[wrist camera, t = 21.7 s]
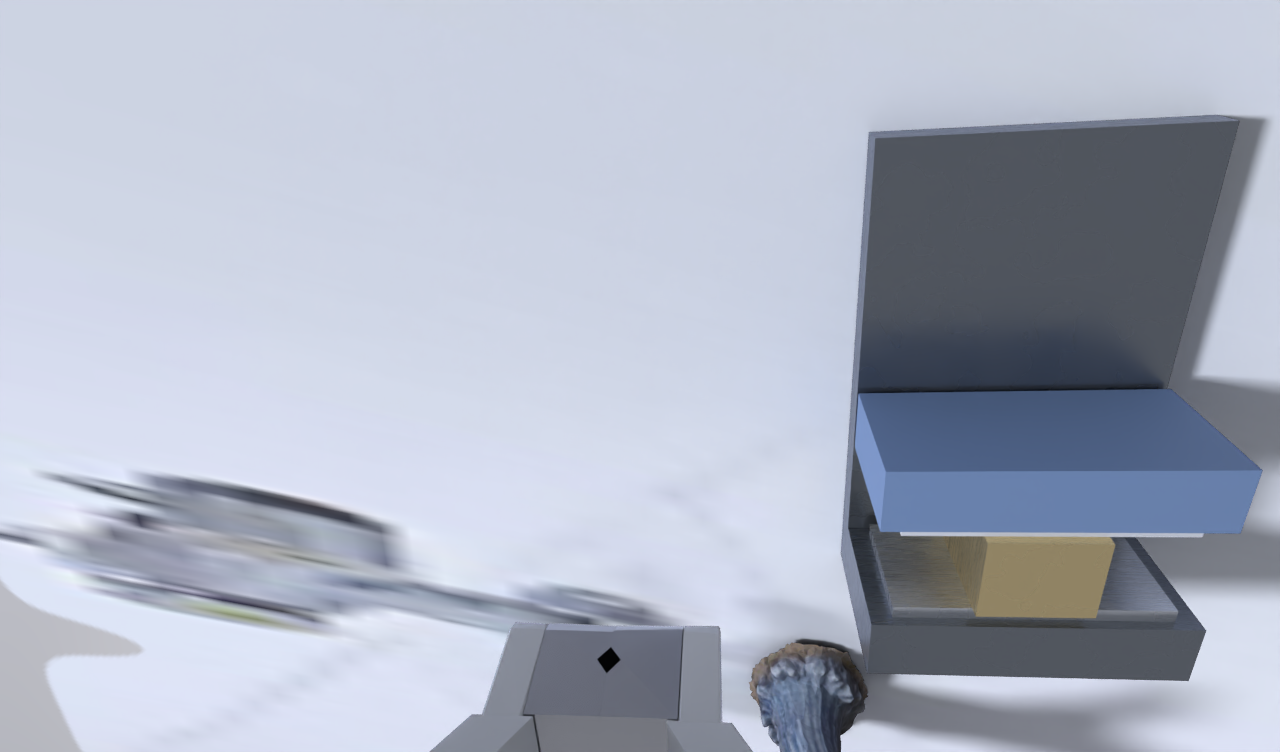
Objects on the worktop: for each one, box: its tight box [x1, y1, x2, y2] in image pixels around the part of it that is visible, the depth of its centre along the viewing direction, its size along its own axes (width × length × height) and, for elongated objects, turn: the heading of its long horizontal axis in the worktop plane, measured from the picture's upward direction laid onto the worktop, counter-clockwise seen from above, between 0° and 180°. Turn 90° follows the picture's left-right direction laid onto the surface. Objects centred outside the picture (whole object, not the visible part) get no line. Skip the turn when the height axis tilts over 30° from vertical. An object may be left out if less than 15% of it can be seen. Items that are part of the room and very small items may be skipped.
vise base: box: [841, 115, 1239, 681], centre depth 34 cm, size 23×14×8 cm, turn 4°
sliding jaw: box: [855, 389, 1263, 537], centre depth 34 cm, size 4×14×7 cm, turn 94°
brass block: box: [943, 536, 1115, 618], centre depth 36 cm, size 4×5×7 cm
